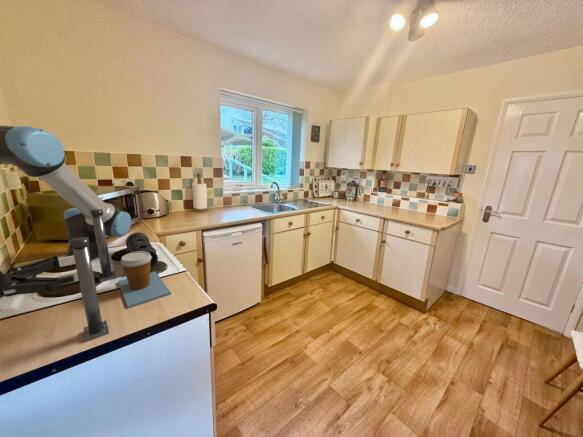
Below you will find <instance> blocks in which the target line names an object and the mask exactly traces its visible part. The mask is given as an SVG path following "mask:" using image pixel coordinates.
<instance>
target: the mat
mask: <svg viewBox="0 0 583 437" xmlns="http://www.w3.org/2000/svg"><path fill="white" fill-rule="evenodd" d="M117 284H118V286H119V288H120V291H121V294H122V297H123V298H124V301H125V304H126V306H127V309H130V308H133V307H137V306H140V305H143V304H145V303H148V302H151V301H154V300H157V299H161V298H163V297H167V296H169V295H170V296H171V294H172V292H171V290H170V289H169V287H168V286H167V284H165V282H164V281H163V279H162V278H161V277H160V275H159V274H158V273H157V271H152V272H151V271H150V284H149V286H147V287H146V288H143V289H140V290H132V289H130V286H129V283H128V280H127V278H124V279H120V280H118V281H117Z"/></svg>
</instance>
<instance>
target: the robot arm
mask: <svg viewBox="0 0 583 437" xmlns="http://www.w3.org/2000/svg"><path fill="white" fill-rule="evenodd" d="M63 149H64V146H63V143H62V142H61V141H60V139H59V138H57V136H56V135H54V134H53V133H51V132H49V131H47V130H46V129H42V128H37V127H33V126H28V125H18V126H15V125H14V126H12V125H11V126H10V125H0V165H14V166H15V167H16V168H18V169H19V170H20V171H22V172H23V173H24V174H25V175H27V176H28V177H30V178H38V179H40V180H41V181H42V182H43V183H44V184H46V185H47V186H48V187H49V188H51V189H52V190H53V191H54V192H55V193H57V195H59V196H60V197H61V198H63V199H64V200H65V201H66V202H68V204H70V205H71V206H72V208H68V209H65V210H64V212H63V222H64V226H65V229H66V235H67V239H68V244H67V249H66V253H65V256H64V257H63V256H62V257H58V255H53V256H51V257H47V258H43V259H41V260H37V261H34V262H31V263H27V264H24V265H20V266H15V267H11V268H10V269H9V270H10V272H8V273H3V271H2V270H0V299H1V298H4V297H5V298H8V297H12V296H17V295H26V294H27V295H28V294H37V293H48V292H54V291H58V290H59V289H60V286H62V285H68V284H70V283H74V282H75V283H76V282H79V279H78V274H77V270H76V271H72V272H67V273H63V274H59V275H57V277H53V276H51V277H47V276H46V277H43V276H42V277H40V276H38V275H41V274H43V273H45V272H47V271H50V270H53V269H54V268H56V267H58V266H59V267H66V266H73V265H76V264H75V259H74V254H73V249H72V248H71V247H70V242H69V240H71V239H74V238H79V237H88V238H89V245H88V247H89V253H90V258H91V260H94V259H97V258H98V259H99V254H98V248H97V242H96V236H95V230H94V224H93V218H92V215H91V213H90V210H94V209H103V214H102V215H103V221H104V228H105V234H106V237H111V238H112V237H113V238H121V237H124V236H125V235H127V234H128V232H129V230H130V228H131V226H132V217H131V215H130V213H129V212H127V211H121V210H118V209H117V208H116V207H115V206H114V205H113V204H111V203H107V202H105V201H104V200H102V199H101V197H100V196H99V195H97V193H96V192H94V190H92V189H91V187H89V186H88V184H86V183H85V182H84V181H83V180H82V179H81V178H80V177H79V176H78V175H77V173H75V171H73V170H72V168H70V167H69V166H68V165H67V164H66V161H67V158H66V155H65V151H64V150H63Z"/></svg>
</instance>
